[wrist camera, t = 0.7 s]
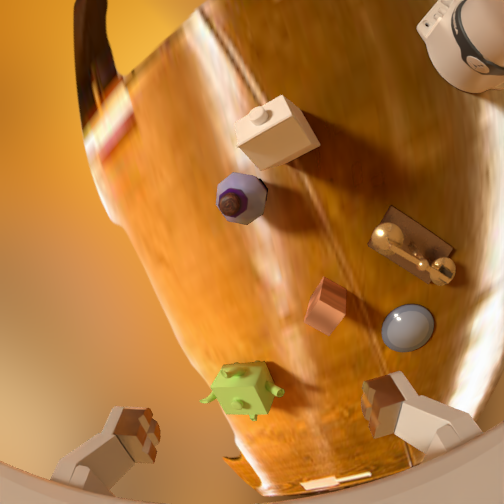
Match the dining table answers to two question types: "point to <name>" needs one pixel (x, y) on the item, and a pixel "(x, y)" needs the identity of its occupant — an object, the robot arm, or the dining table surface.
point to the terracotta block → (326, 306)
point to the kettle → (244, 389)
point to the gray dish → (407, 327)
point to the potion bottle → (241, 198)
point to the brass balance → (413, 248)
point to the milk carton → (275, 134)
